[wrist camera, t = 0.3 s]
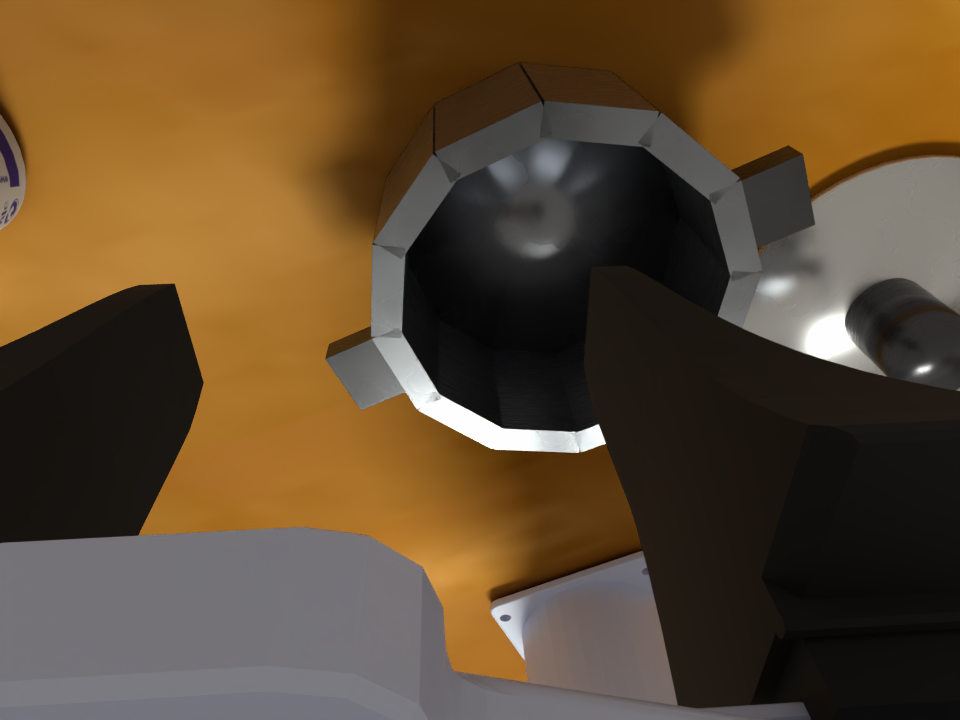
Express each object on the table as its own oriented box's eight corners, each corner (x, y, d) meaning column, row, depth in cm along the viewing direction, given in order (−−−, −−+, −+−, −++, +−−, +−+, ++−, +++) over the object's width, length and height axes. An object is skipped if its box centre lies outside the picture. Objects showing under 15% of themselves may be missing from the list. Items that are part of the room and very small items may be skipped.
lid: (1030, 361, 26) (1117, 424, 23) (753, 457, 28) (797, 529, 25) (1034, 91, 21) (1151, 122, 17) (688, 236, 23) (732, 289, 19)
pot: (772, 276, 23) (847, 353, 19) (424, 415, 25) (422, 511, 21) (703, -28, 18) (785, -15, 14) (275, 181, 20) (234, 247, 16)
